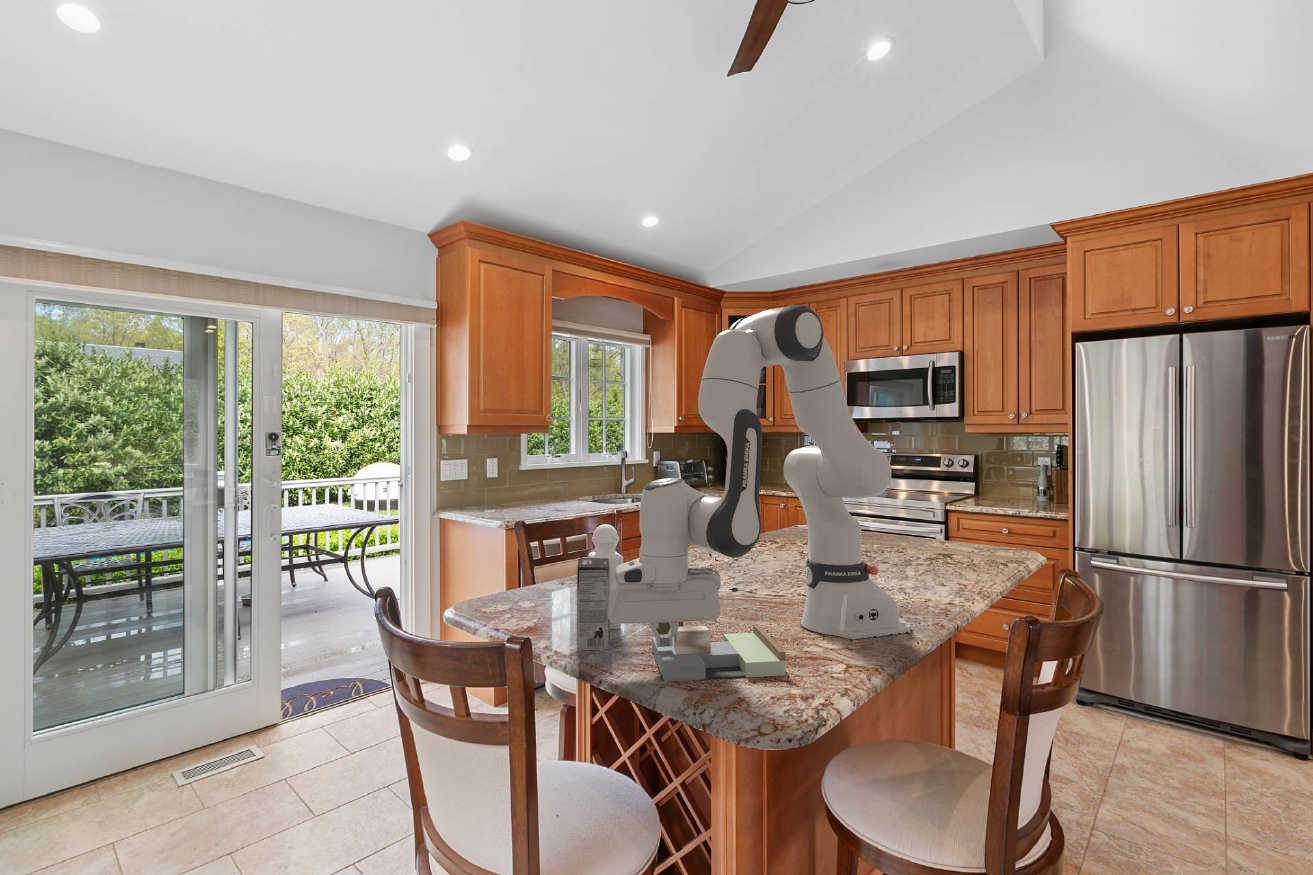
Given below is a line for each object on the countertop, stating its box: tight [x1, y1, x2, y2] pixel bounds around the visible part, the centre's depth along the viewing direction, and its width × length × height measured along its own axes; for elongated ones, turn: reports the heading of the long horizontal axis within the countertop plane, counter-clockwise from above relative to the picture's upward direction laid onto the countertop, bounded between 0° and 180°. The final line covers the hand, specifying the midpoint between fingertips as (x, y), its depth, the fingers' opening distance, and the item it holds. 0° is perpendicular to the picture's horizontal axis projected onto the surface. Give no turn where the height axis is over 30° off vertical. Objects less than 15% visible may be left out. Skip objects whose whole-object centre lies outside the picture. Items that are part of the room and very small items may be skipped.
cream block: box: [673, 625, 712, 654], centre depth 116 cm, size 6×4×4 cm
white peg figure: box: [587, 523, 624, 630], centre depth 139 cm, size 6×6×22 cm
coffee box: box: [576, 557, 611, 651], centre depth 127 cm, size 9×6×16 cm
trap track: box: [651, 624, 787, 682], centre depth 116 cm, size 21×16×4 cm
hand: (664, 645), depth 115 cm, fingers closed
